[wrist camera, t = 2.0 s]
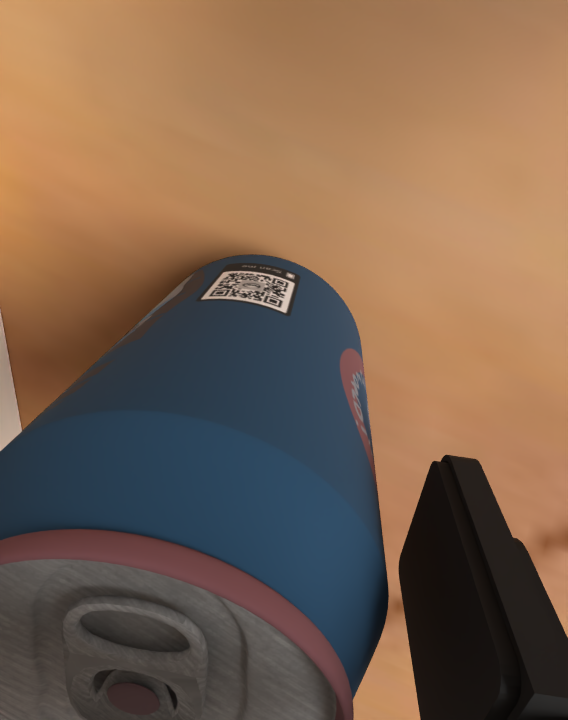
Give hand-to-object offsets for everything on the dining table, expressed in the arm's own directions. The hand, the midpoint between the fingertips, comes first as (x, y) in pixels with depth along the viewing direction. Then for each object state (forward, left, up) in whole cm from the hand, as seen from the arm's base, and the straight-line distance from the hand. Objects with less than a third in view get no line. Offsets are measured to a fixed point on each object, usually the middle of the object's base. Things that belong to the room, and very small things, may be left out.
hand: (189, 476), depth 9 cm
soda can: (-1, 0, -8) cm, 8 cm away
